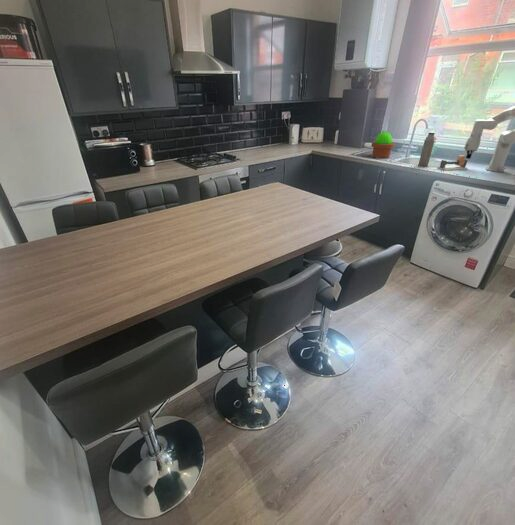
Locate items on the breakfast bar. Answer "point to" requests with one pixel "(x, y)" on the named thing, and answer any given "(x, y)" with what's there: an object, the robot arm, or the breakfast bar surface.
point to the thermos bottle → (427, 150)
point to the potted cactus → (382, 145)
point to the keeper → (461, 160)
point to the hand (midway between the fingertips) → (468, 158)
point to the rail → (444, 167)
